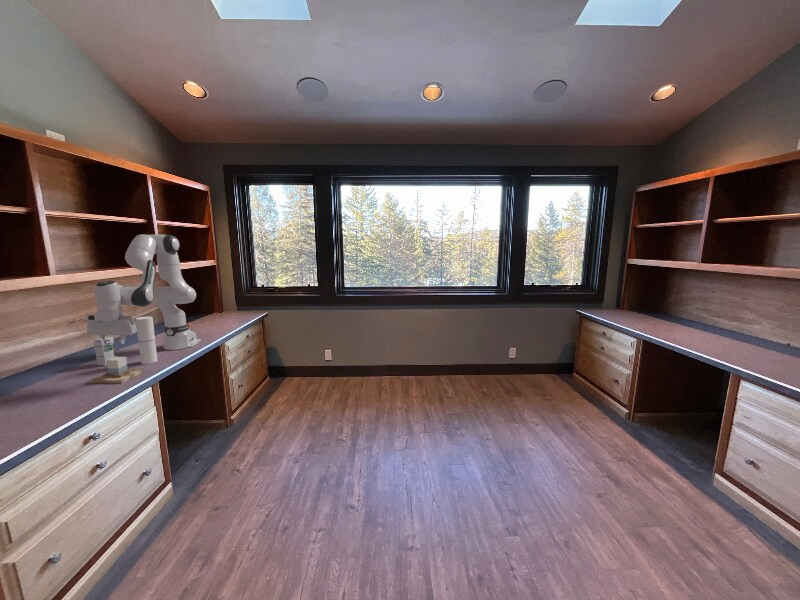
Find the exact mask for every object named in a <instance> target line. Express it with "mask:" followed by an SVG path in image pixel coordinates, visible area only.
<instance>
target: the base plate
mask: <svg viewBox="0 0 800 600" xmlns="http://www.w3.org/2000/svg"><path fill="white" fill-rule="evenodd" d="M143 373H145V368H128V371H126V372H124V373H122V374H120V375H108V372H106V373H105V372H104V373H103V374H100V375H99V376H97V377H94V378H92V379H90V380H89V383H90V384H123V383H125V382H127V381H129V380H131V379H134V378H135V377H136V376H139V375H140V374H143Z"/></svg>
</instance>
